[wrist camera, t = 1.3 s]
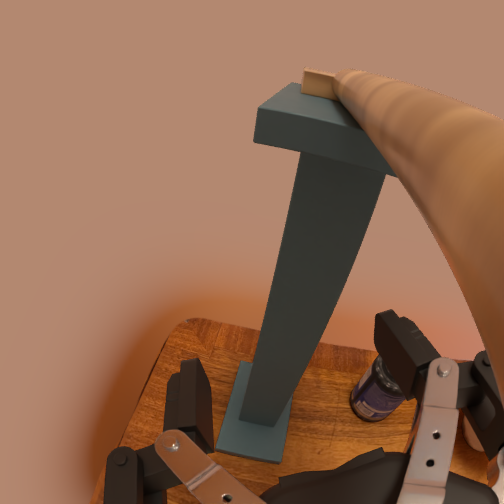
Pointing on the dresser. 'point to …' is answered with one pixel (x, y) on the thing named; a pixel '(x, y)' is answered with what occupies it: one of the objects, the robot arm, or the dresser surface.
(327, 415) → the dresser surface
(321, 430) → the dresser surface
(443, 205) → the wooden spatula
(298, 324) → the headphone stand
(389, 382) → the pill bottle
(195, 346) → the dresser surface
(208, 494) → the robot arm
